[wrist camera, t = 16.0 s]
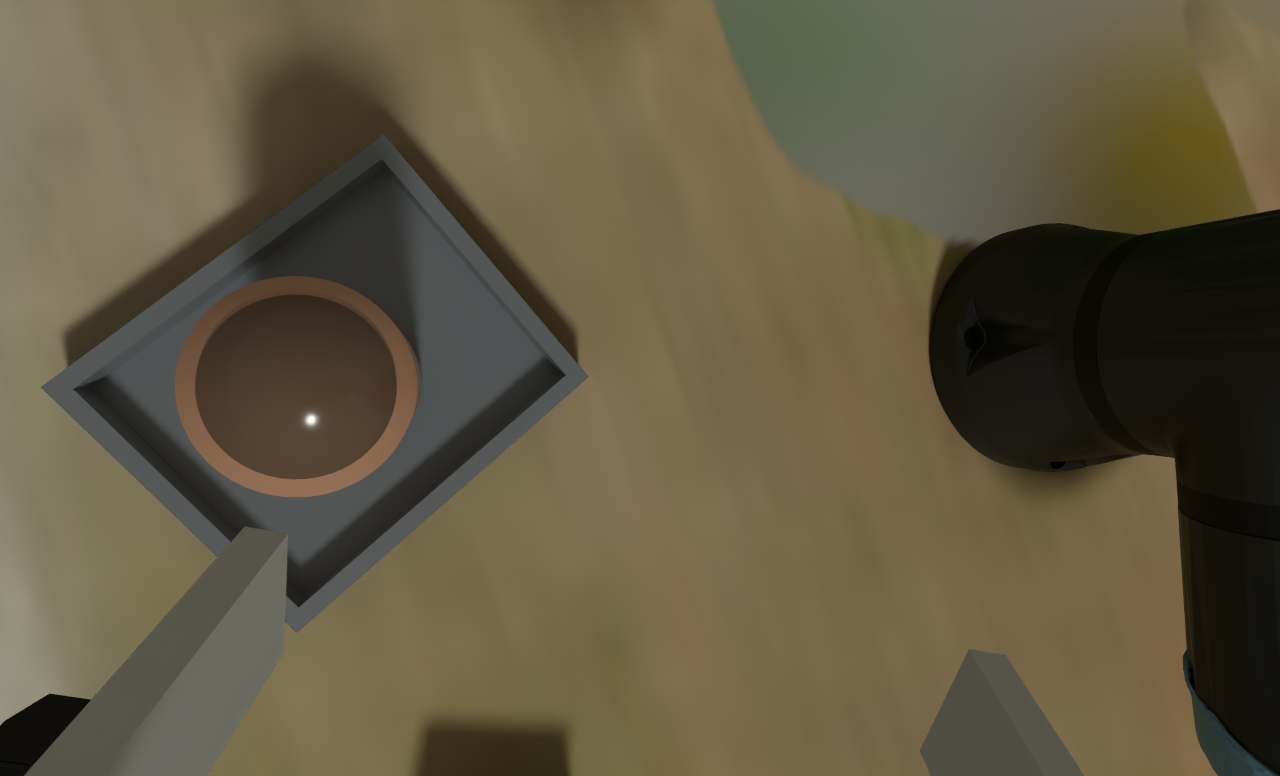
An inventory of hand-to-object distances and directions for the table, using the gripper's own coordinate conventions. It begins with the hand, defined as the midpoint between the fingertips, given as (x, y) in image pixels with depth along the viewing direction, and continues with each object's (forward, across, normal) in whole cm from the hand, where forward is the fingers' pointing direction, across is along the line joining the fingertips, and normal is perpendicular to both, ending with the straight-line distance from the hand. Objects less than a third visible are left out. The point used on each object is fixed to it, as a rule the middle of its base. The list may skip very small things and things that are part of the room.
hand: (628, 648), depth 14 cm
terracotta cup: (+21, -13, -6) cm, 25 cm away
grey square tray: (+22, -13, -6) cm, 26 cm away
